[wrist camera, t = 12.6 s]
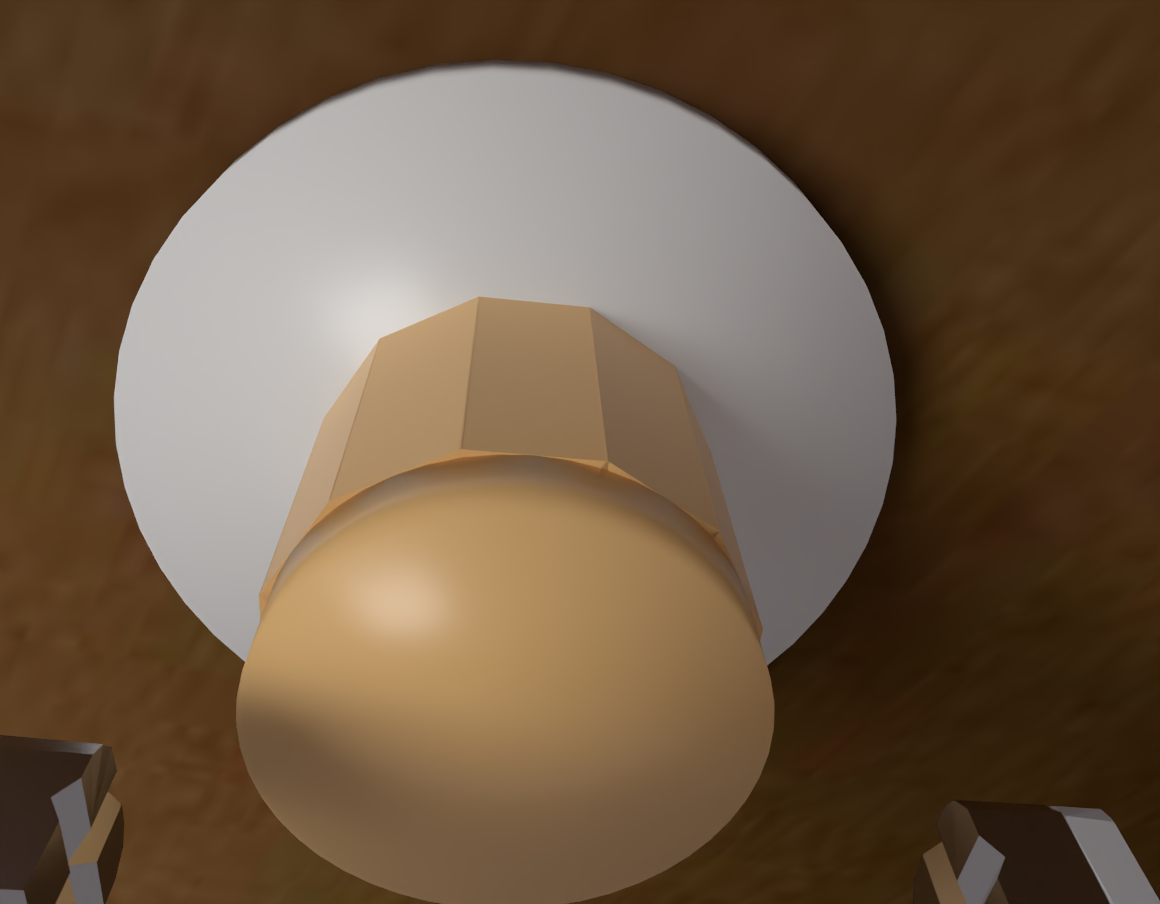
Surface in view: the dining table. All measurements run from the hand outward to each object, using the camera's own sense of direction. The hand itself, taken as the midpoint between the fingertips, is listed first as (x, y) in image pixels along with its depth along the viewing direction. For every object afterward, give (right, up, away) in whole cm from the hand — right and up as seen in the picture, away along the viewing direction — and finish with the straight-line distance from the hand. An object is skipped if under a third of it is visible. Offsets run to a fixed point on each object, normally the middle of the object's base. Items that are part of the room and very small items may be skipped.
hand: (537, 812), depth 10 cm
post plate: (-1, +4, +7) cm, 8 cm away
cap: (-1, +3, +6) cm, 7 cm away
